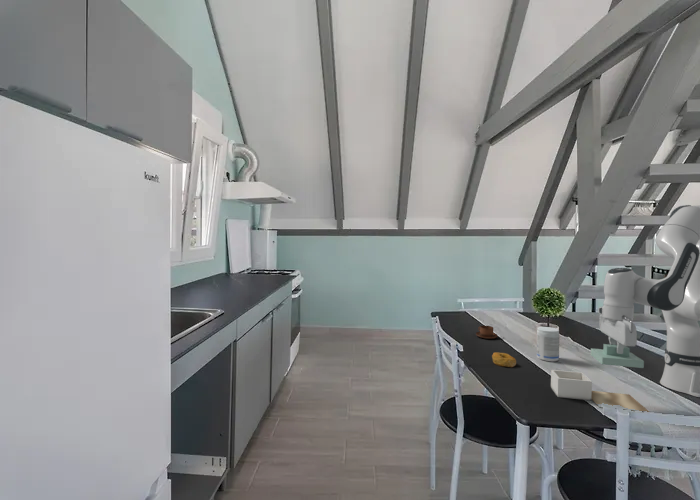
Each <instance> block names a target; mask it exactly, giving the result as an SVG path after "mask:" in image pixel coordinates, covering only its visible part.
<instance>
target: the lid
mask: <svg viewBox="0 0 700 500" xmlns="http://www.w3.org/2000/svg"><path fill="white" fill-rule="evenodd" d="M617 345H618V344H616V345H610V343H607V344H606V343H603V349H601V348H590V356H591V357H592V358H593V359H595V360H596V361H597V362H599V363H600V364H601V365H607V366H615V367H616V366H617V367H627V368H628V367H629V368H639V369H644V366H645V361H644V360H643V359H642V358H640V357H638V356H637V355H635V354H634V353H632V352H630V351H631V347H630V346H625V347H624V349H623V354H618V353H617V352H616V348H617Z"/></svg>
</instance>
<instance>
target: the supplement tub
mask: <svg viewBox="0 0 700 500" xmlns="http://www.w3.org/2000/svg"><path fill="white" fill-rule="evenodd" d="M536 357H537V358H538V359H539V360H542V361H546V362H558V361H559V360H560V330H559V329H558V328H557V327H556V328H555V327H552V326H551V327H550V326H538V327H537V330H536Z"/></svg>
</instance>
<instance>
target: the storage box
mask: <svg viewBox="0 0 700 500" xmlns="http://www.w3.org/2000/svg"><path fill="white" fill-rule="evenodd" d="M550 372H551V373H550V389H551V390H552V391H553V392H554V394H555V396H557V398H564V399H573V400H574V399H575V400H582V401H592V399H591V395H592V391H593V388H592V387H593V381H592V380H591V379H590V378H589V377H588V376H587V375H586V374H585V373H584V372H581V371H571V370H570V371H569V370H568V371H567V370H561V369H560V370H559V369H551V370H550Z"/></svg>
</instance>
